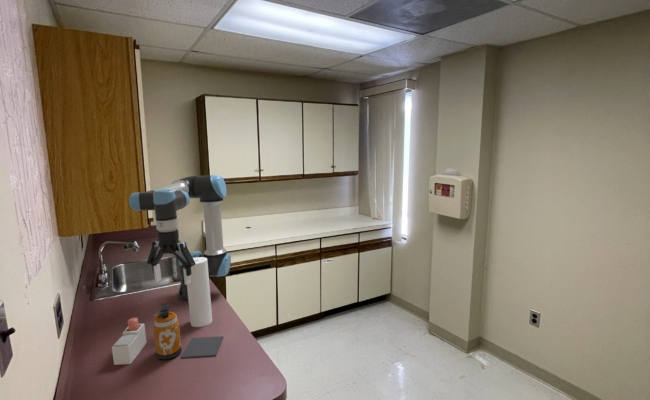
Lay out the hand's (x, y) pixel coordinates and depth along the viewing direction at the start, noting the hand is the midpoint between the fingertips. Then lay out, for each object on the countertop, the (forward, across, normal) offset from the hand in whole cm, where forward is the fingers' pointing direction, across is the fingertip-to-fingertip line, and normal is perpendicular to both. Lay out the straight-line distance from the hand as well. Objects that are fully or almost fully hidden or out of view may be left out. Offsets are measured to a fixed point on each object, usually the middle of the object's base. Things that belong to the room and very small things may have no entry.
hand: (172, 282), depth 137 cm
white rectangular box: (+27, -15, -9) cm, 32 cm away
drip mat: (+27, +11, 0) cm, 29 cm away
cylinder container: (+27, -2, +18) cm, 33 cm away
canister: (+27, 0, -5) cm, 28 cm away
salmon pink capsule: (+23, -16, -5) cm, 29 cm away
